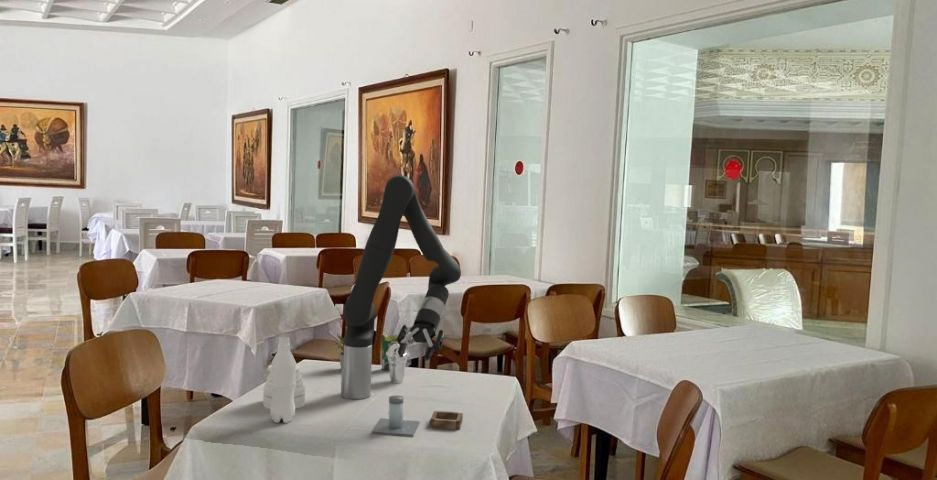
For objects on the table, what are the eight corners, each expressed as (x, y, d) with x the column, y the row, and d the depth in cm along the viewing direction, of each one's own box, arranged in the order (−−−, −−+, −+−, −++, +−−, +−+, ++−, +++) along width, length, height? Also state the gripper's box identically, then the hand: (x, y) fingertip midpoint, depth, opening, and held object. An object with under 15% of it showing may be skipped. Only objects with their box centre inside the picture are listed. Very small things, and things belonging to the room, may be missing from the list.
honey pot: (255, 402, 244) (256, 346, 243) (289, 395, 254) (291, 341, 252) (278, 412, 236) (279, 354, 234) (312, 404, 245) (314, 348, 244)
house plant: (323, 365, 293) (324, 322, 292) (358, 363, 299) (360, 321, 297) (331, 374, 280) (333, 330, 279) (368, 372, 286) (370, 329, 284)
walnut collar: (429, 427, 228) (430, 419, 228) (434, 418, 237) (434, 410, 236) (459, 429, 227) (459, 421, 227) (462, 420, 236) (462, 412, 236)
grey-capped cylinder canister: (387, 427, 224) (387, 399, 224) (390, 423, 229) (390, 395, 228) (401, 428, 224) (402, 399, 223) (404, 423, 228) (404, 395, 228)
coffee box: (383, 371, 289) (384, 336, 288) (380, 369, 292) (382, 335, 290) (403, 369, 292) (404, 335, 291) (401, 367, 295) (402, 334, 294)
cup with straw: (387, 377, 281) (389, 323, 279) (412, 379, 279) (414, 325, 278) (382, 383, 272) (384, 327, 270) (407, 385, 271) (409, 329, 269)
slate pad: (371, 433, 221) (371, 431, 221) (380, 420, 233) (380, 418, 233) (412, 436, 220) (413, 434, 220) (419, 423, 232) (419, 421, 232)
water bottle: (288, 425, 224) (290, 341, 222) (265, 423, 226) (267, 339, 223) (298, 418, 231) (300, 336, 229) (276, 415, 233) (278, 334, 230)
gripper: (406, 305, 243) (388, 347, 234) (447, 310, 239) (431, 354, 229) (412, 318, 249) (395, 361, 239) (453, 324, 244) (437, 367, 234)
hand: (413, 357), depth 234 cm, fingers open, 8 cm apart
